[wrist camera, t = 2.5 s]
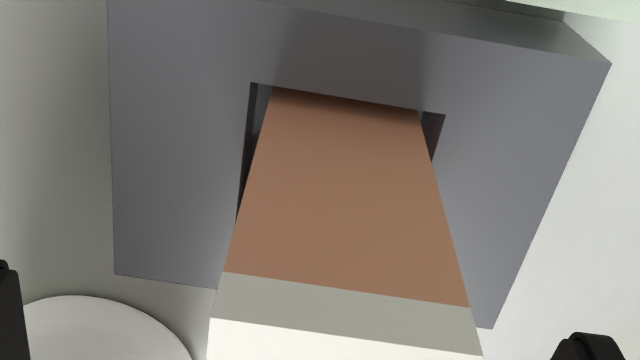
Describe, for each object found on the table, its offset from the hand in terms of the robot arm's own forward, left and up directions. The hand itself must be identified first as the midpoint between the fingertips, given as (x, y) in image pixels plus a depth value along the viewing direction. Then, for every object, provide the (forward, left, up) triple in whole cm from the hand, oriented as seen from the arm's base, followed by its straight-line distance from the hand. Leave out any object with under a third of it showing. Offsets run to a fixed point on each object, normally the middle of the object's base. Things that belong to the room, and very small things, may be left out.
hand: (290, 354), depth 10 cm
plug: (-1, 0, -9) cm, 9 cm away
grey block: (-1, 0, -10) cm, 10 cm away
